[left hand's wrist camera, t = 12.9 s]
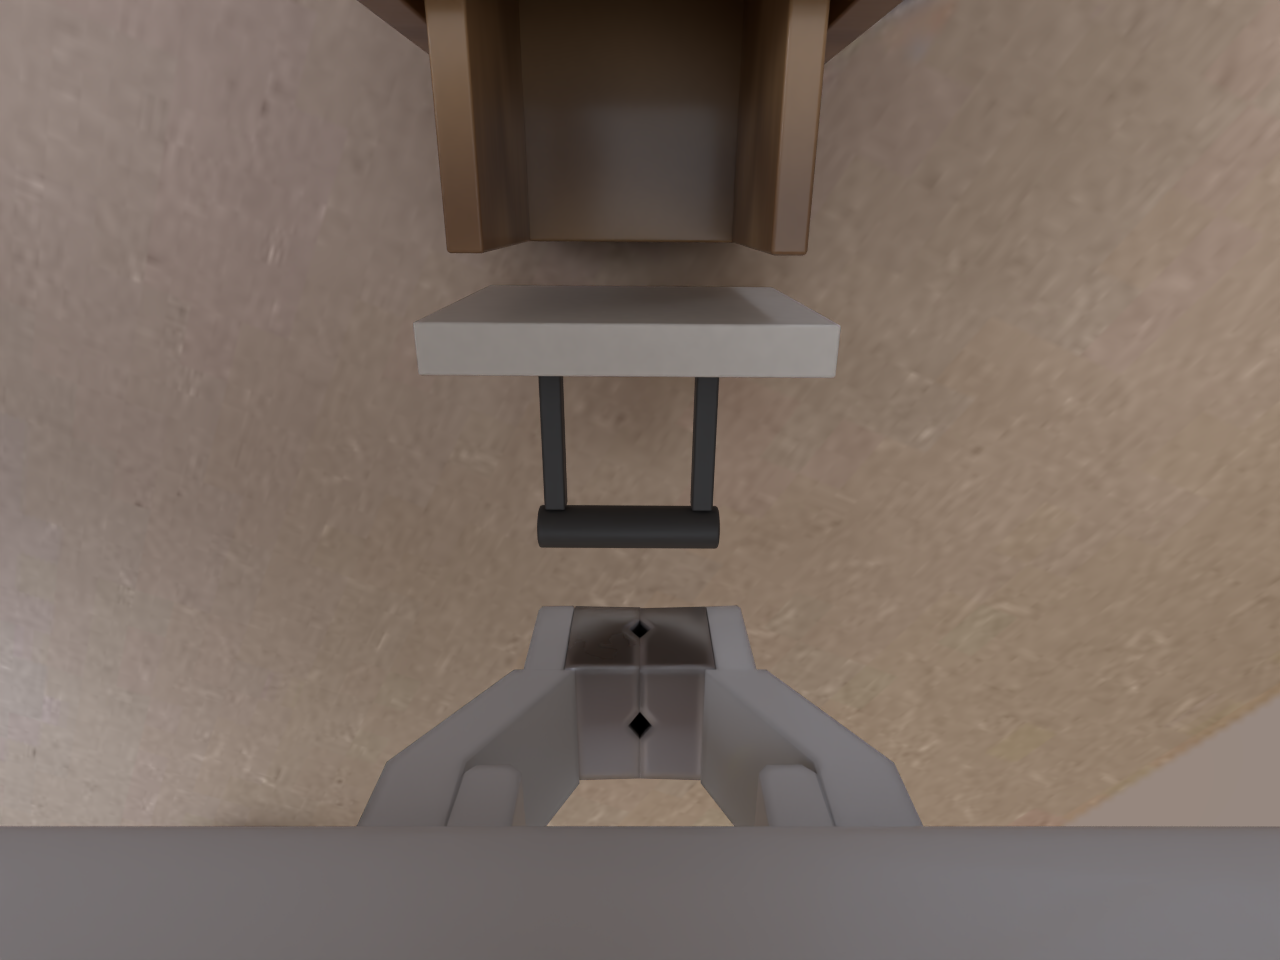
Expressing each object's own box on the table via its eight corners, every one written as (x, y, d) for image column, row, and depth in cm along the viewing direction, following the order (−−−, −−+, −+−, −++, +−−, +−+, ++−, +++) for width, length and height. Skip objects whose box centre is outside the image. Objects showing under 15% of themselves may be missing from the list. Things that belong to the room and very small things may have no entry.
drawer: (759, 481, 25) (810, 598, 18) (502, 479, 25) (442, 596, 18) (825, -402, 17) (982, -920, 9) (439, -406, 17) (271, -929, 9)
